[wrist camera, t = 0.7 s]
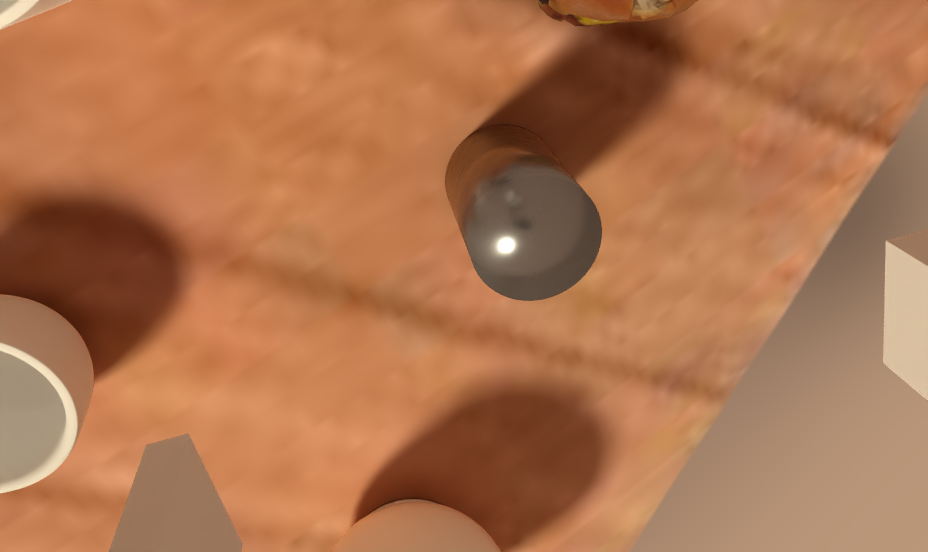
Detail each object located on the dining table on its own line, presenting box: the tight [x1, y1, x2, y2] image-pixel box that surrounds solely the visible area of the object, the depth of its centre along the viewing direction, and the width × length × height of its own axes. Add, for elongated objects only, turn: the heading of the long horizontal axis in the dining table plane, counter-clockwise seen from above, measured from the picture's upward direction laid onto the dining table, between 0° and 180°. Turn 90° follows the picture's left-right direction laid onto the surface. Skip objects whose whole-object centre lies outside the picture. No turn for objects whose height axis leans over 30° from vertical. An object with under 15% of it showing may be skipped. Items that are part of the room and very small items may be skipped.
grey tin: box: [445, 125, 602, 301], centre depth 32 cm, size 5×5×7 cm
